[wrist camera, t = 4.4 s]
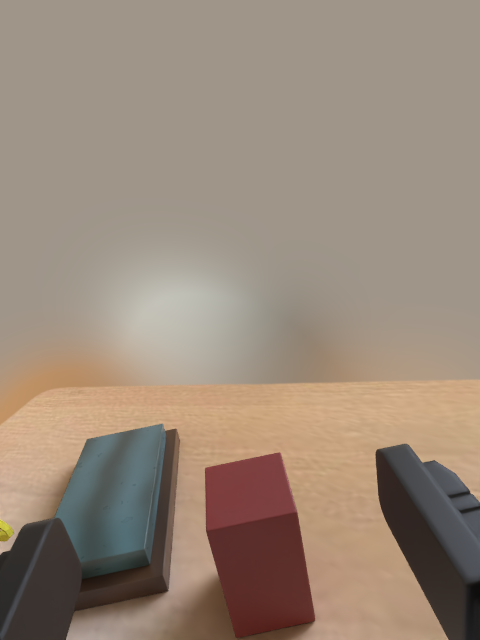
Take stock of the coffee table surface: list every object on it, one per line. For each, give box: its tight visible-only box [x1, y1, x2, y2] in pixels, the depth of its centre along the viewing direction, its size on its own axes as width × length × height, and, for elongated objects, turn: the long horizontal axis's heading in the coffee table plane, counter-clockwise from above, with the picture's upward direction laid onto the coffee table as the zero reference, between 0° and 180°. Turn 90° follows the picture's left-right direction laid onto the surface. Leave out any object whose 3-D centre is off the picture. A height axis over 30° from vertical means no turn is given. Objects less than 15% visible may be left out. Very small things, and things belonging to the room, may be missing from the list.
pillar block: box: [205, 453, 315, 638], centre depth 26 cm, size 5×5×9 cm
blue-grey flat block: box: [54, 424, 180, 611], centre depth 36 cm, size 10×17×3 cm, turn 5°
